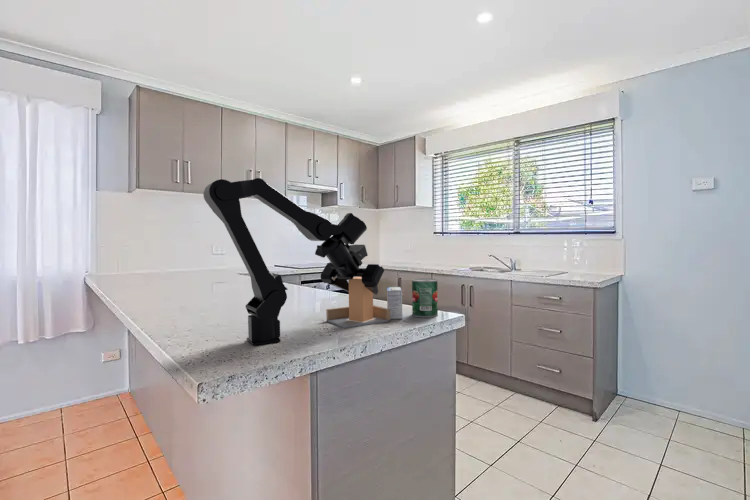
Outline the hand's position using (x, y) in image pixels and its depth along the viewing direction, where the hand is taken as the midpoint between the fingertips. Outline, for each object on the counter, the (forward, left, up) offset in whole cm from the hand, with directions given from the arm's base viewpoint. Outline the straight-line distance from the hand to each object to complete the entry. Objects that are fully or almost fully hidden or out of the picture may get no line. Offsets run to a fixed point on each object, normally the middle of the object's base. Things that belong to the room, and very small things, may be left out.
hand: (363, 292), depth 117 cm
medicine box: (+11, 0, -9) cm, 14 cm away
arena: (-2, 0, -8) cm, 9 cm away
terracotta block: (-1, -1, -8) cm, 8 cm away
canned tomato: (+20, -4, -9) cm, 22 cm away
